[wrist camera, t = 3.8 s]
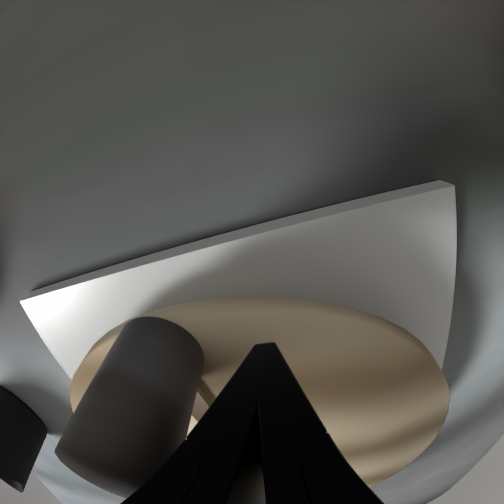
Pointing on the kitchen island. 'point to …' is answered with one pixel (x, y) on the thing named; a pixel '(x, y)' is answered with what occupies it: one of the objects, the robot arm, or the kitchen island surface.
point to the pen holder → (18, 440)
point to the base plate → (280, 271)
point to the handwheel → (224, 366)
